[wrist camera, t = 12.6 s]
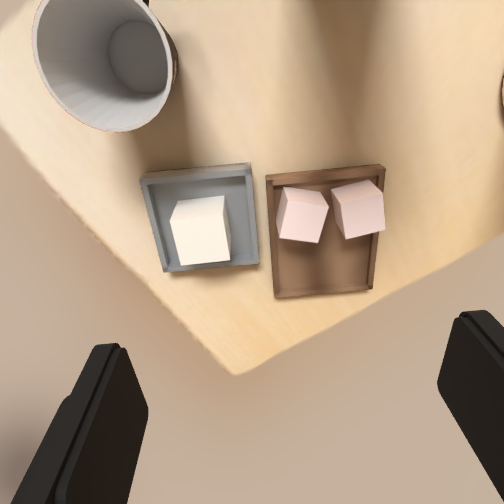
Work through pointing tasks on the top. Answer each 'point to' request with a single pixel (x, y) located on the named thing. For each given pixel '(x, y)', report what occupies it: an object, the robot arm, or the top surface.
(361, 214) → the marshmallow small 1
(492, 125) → the top surface
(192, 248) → the cream white cube
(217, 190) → the slate dish
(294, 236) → the small marshmallow
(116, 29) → the coffee mug
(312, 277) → the walnut tray
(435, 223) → the top surface
